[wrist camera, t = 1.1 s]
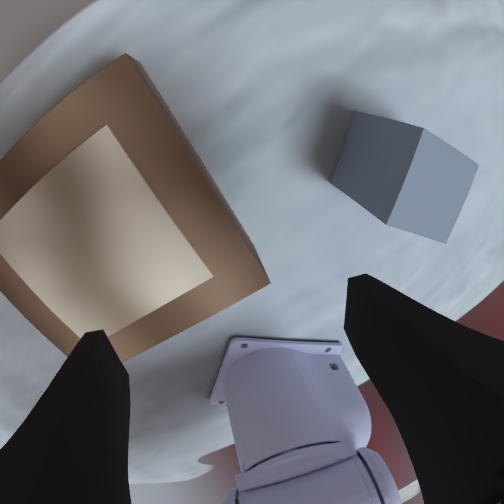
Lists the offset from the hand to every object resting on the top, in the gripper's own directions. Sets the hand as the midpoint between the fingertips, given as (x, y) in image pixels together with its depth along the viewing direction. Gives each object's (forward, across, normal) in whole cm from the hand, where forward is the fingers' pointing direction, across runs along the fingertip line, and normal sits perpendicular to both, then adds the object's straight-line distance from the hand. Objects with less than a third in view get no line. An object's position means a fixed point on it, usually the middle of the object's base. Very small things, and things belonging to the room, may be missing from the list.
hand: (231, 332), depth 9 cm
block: (+10, -10, -1) cm, 14 cm away
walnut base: (+10, +5, -1) cm, 11 cm away
